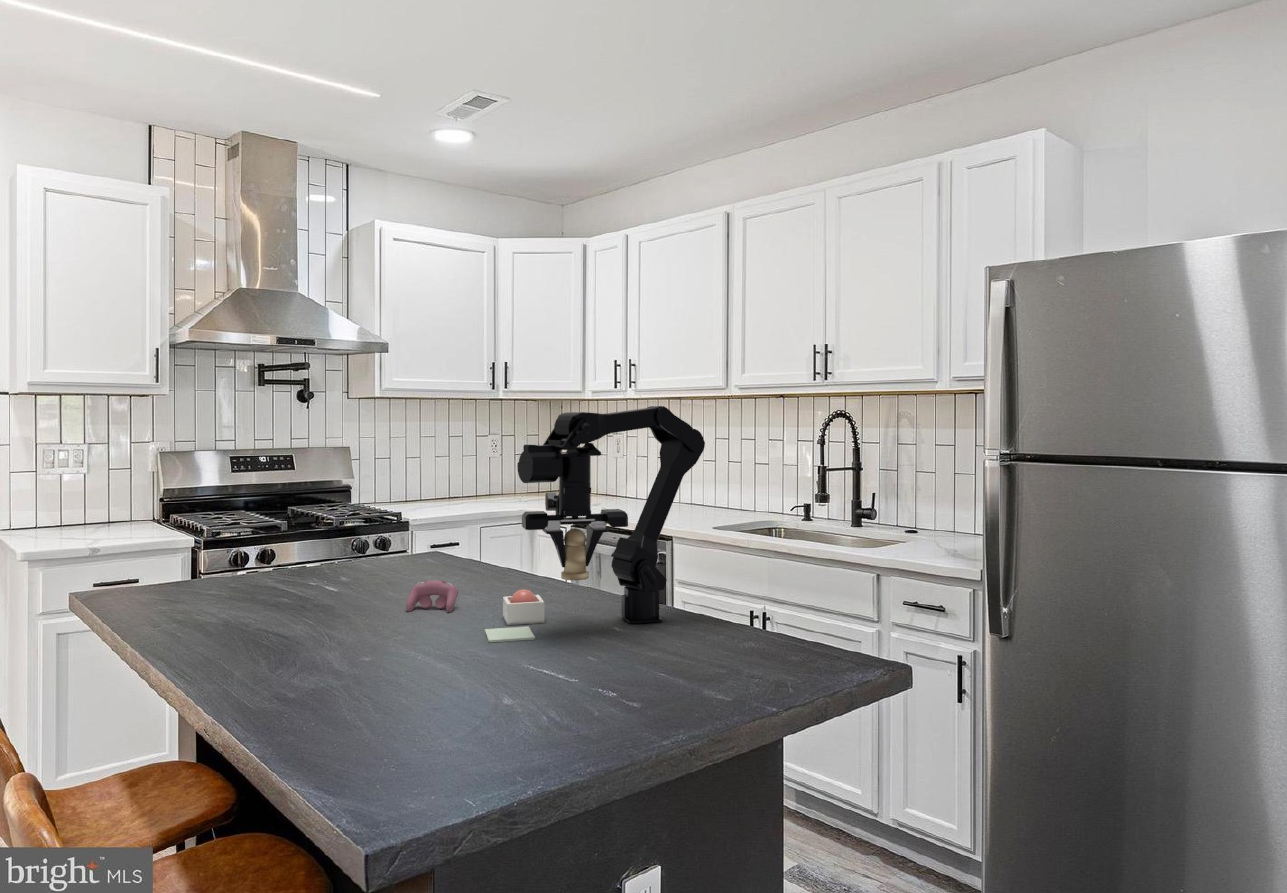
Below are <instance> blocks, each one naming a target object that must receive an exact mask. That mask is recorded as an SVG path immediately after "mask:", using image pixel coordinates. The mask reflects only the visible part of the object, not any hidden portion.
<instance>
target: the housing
mask: <svg viewBox="0 0 1287 893" xmlns="http://www.w3.org/2000/svg"><path fill="white" fill-rule="evenodd" d="M512 596H513V595H512ZM512 596H511V595H509V596H503V597H502V618H503V619H504V621H505V624H506V626H517V625H518V626H519V625H520V626H521V625H532V624H534V625H535V624H545V601H544V600H543V598H542V597H541V595H539V594H534V596H535V598H536V602H523V603H510V602H511V598H512Z"/></svg>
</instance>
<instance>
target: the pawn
mask: <svg viewBox="0 0 1287 893" xmlns="http://www.w3.org/2000/svg"><path fill="white" fill-rule="evenodd" d="M563 536H564V549H565V567H563V571H561V572H560V573H561V574H560V577H561V580H565V581H582V580H588V579H589V575H590V574H589V572H590V571H588V570H587V566H586V538H587V535H586V534H585V533H584V531H582V530H581V529H580V528H571V529H569V530H567V531H566V532H565V534H564V535H563Z"/></svg>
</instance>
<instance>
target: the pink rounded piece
mask: <svg viewBox="0 0 1287 893" xmlns="http://www.w3.org/2000/svg"><path fill="white" fill-rule="evenodd" d="M534 595H535V594H534V593H533V592H532V591H530V590H528V589H524V588H523V589H519V590H517V591H515V593H513V595H512V598H511V602H510V603H523V602H536V598H535V596H534Z"/></svg>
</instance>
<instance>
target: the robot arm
mask: <svg viewBox="0 0 1287 893" xmlns="http://www.w3.org/2000/svg"><path fill="white" fill-rule="evenodd" d="M648 428H649V429H650V432H651V433H652V435H653V438H654V439H655V440H656V441H657V442H658V443H660V449H659V459H660V460H659V462H660V467H659V470H658V472H657V474H656V477H655V480H654V482H653V484H652V487H651V489H650V491H649V494H648V496H647V498H646V501H645V504H644V505H643V509H642V511H641V514H640V516H639V519H638V521H637V523H636V525H635V528H634V530H633V532H632V533H631V534H629V536H628V537H623V536H620V537H619V538H618V540H617V542H616V546H615V549H614V550H613V552H612V553H611V555H610V556H611V557H612V560H611V566H610V567H611V568H612V570H613V572H612V573H613V574H614V575H615V576H616V577H617V580H618V584H619V586H621V587H623V594H622V595H621V596H620V597H621V600H620V601H621V604H620V605H621V608H620V609H621V617H622V619H624V620H625V621H626V622H627V623H628V624H642V623H643V624H644V623H645V624H646V623H658V622H659V623H660V622H663V618H662V617H661V616H660V591H664V590H665V587H666V585H667V581H668V580H667V578H666V577H665V575H663V574H662V572H661V571H660V570H659V569H658V568H657V564H658V560H659V552H658V540H659V538H660V535H661V533H662V531H663V528H664V525H665V523H666V521H667V517H668V516H669V513H670V510H671V508H672V507H673V506H672V505H673V502H674V501H675V497H677V493H678V490H679V487H680V485H681V482H682V481H683V478H684V476H685V475H686V474H687V473H688V472H689V471H690V470H692V468H693V467H694V466H695V465H696V464H697V463H698V461H699V459H700V457H701V456H702V454H703V452H704V450H705V447H706V442H705V440H704V436H703V435H702V433H701V431H699V430H698V429H695V428H693V427H692V425H690V423H688V422H686V421H684V420H683V419H682V418H680V417H679V416H677V415H675V414H674V413H673V412H672V411H671V409H669V408H668V407H666V406H664V405H663V406H662V405H653V406H647V407H644V408H638V409H631V410H623V411H616V412H615V411H614V412H607V413H601V412H600V413H599V412H588V411H586V412H585V411H584V412H583V411H579V412H576V411H572V412H571V411H570V412H563V413H561V414H559V415H558V416H557V418H556V419H555V423H554V428H553V429H552V431H551V432H550V433H549V435H548V436H547V438H546V440H545V441H544V442H543V444H542V445H538V444H537V445H536V444H524V445H523V448H522V449H523V451H522V452H521V454H520V455H519V458H518V462H517V473H518V477H519V480H520V481H521V482H522V483H523V484H539V483H540V484H541V483H555V482H556V481H557V480H559V481H558V484H559V485H558V494H557V493H556V492H545V495H544V496H545V502H544V504H545V511H546V512H545V511H544V510H535V511H533V510H532V511H531V510H530V511H524V512H523V514H521V527H522V528H523V530H525V531H538V530H540V531H541V530H542V532H543V533H544V534H546V535H549V536H550V538H551V540H552V543H553V544H554V547H555V550H556V553H557V555H558V559H559V562H560V565H561V567H562V568H564V567H565V549H564V545H565V543H564V536H565V535H564V530H562V529H561V528H562V527H561V526H563V525H586V528H585V529H586V530H585V531H586V543H585V544H586V567H589V565H590V563H591V559H592V558H593V555H594V552H595V550H596V547H597V545H598V543H599V541H600V540H601V538H602V535H603V534H604V533H608V532H609V528H607V525H609V526H610V527H611V528H627V527H629V517H628V513H627V512H626V511H624V510H623V509H620V508H609V509H608V508H605V509H603V508H602V509H601V510H600V513H592V508H591V501H592V500H591V498H592V495H591V493H592V484H591V483H592V482H591V479H592V478H591V476H592V475H591V473H592V472H591V470H592V468H591V462H592V461H591V459H592V458H591V457H596V456H597V457H599V456H602V452H601V451H600V450H599V449H598V448H597V447H596V446H595V445H594V443H593V442H595V441H597V440H600V439H601V438H604V437H605V436H607V435H610V434H614V433H622V432H627V431H633V430H634V431H635V430H643V429H648ZM580 445H583V446H580ZM562 451H565V452H562ZM548 511H549V512H550V511H551V512H552V511H555V512H554V513H555V514H548V513H547V512H548ZM587 524H588V525H587Z"/></svg>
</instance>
